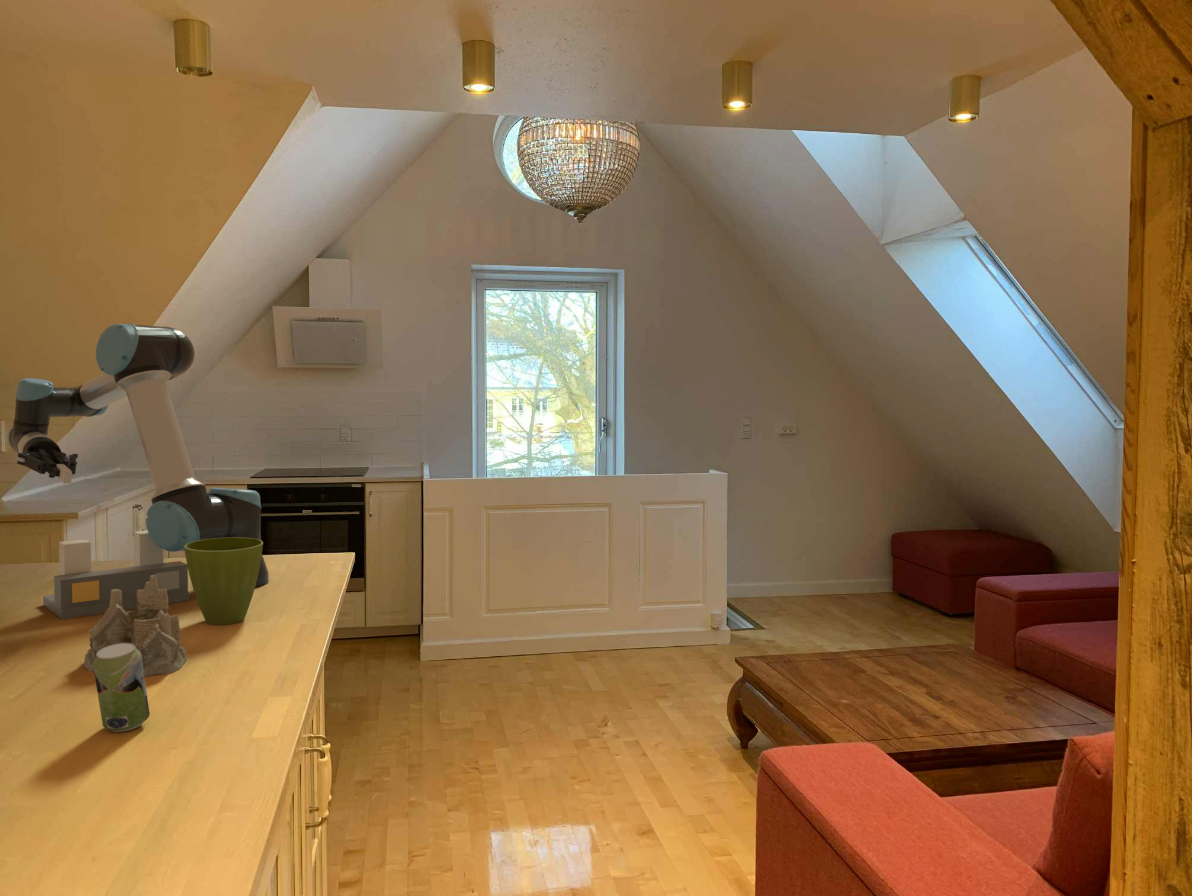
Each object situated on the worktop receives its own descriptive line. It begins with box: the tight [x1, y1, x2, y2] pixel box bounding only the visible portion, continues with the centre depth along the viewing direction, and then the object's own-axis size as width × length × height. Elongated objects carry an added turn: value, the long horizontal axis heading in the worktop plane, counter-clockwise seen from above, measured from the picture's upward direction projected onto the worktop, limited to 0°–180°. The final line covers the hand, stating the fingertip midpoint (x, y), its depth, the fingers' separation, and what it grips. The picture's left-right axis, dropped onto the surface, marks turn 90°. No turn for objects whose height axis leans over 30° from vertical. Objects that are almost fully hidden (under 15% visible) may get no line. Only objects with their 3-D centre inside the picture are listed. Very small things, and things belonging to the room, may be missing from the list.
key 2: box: [133, 529, 164, 567], centre depth 205 cm, size 4×5×12 cm
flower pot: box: [184, 537, 264, 626], centre depth 184 cm, size 15×15×16 cm
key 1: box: [58, 539, 92, 575], centre depth 191 cm, size 4×5×12 cm
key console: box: [42, 560, 190, 620], centre depth 197 cm, size 15×25×8 cm, turn 134°
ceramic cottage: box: [83, 575, 188, 677], centre depth 155 cm, size 16×16×15 cm
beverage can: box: [93, 643, 151, 733], centre depth 128 cm, size 6×7×12 cm
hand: (67, 477), depth 203 cm, fingers closed
